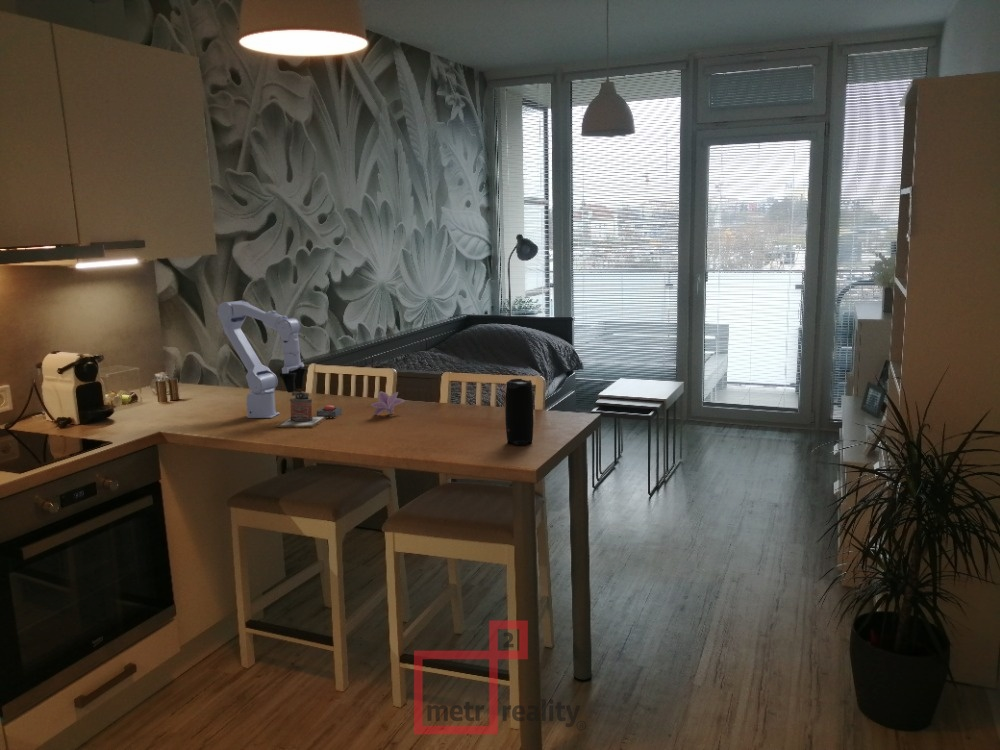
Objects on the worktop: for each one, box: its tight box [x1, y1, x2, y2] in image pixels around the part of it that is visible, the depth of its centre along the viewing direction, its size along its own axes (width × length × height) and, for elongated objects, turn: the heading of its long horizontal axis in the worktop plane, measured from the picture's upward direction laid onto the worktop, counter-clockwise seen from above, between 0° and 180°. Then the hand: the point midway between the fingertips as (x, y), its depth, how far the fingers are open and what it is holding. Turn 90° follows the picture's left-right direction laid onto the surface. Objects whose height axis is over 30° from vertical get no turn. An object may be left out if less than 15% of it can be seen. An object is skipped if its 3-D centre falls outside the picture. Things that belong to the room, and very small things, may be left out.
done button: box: [323, 404, 335, 411], centre depth 286 cm, size 4×4×2 cm
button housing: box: [316, 406, 343, 418], centre depth 286 cm, size 7×7×2 cm
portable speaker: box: [504, 378, 535, 447], centre depth 242 cm, size 9×9×20 cm
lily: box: [370, 390, 406, 419], centre depth 283 cm, size 12×12×10 cm
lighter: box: [289, 391, 313, 421], centre depth 276 cm, size 8×3×10 cm, turn 79°
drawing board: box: [276, 415, 328, 428], centre depth 276 cm, size 13×15×1 cm
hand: (295, 390), depth 281 cm, fingers open, 7 cm apart
